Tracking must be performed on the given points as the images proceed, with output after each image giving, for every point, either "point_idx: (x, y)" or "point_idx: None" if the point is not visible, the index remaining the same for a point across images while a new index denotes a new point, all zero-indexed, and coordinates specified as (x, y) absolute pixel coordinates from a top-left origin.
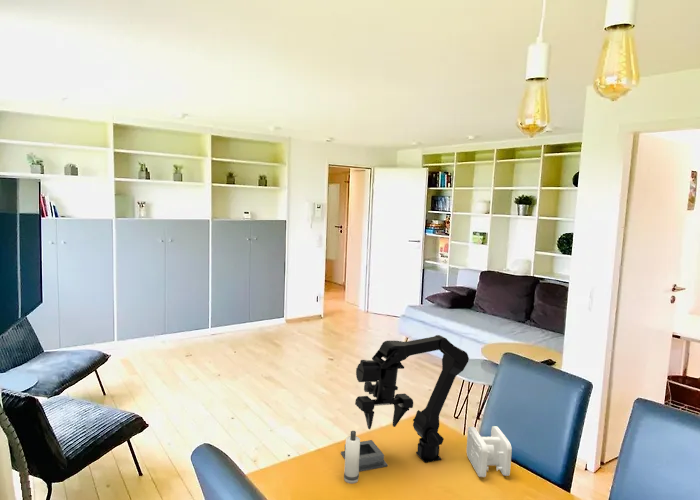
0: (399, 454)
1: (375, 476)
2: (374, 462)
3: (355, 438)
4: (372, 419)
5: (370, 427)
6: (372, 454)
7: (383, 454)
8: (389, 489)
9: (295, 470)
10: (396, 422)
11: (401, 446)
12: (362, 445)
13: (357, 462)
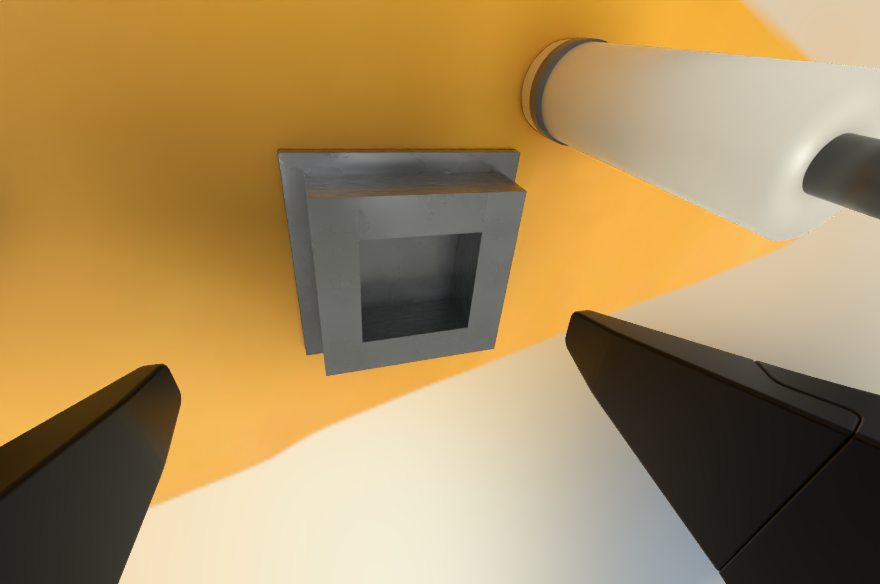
0: (133, 265)
1: (413, 58)
2: (379, 180)
3: (846, 149)
4: (764, 391)
5: (601, 320)
6: (393, 224)
7: (311, 203)
8: None
9: (699, 240)
10: (89, 417)
11: (91, 347)
12: (404, 332)
13: (647, 54)
